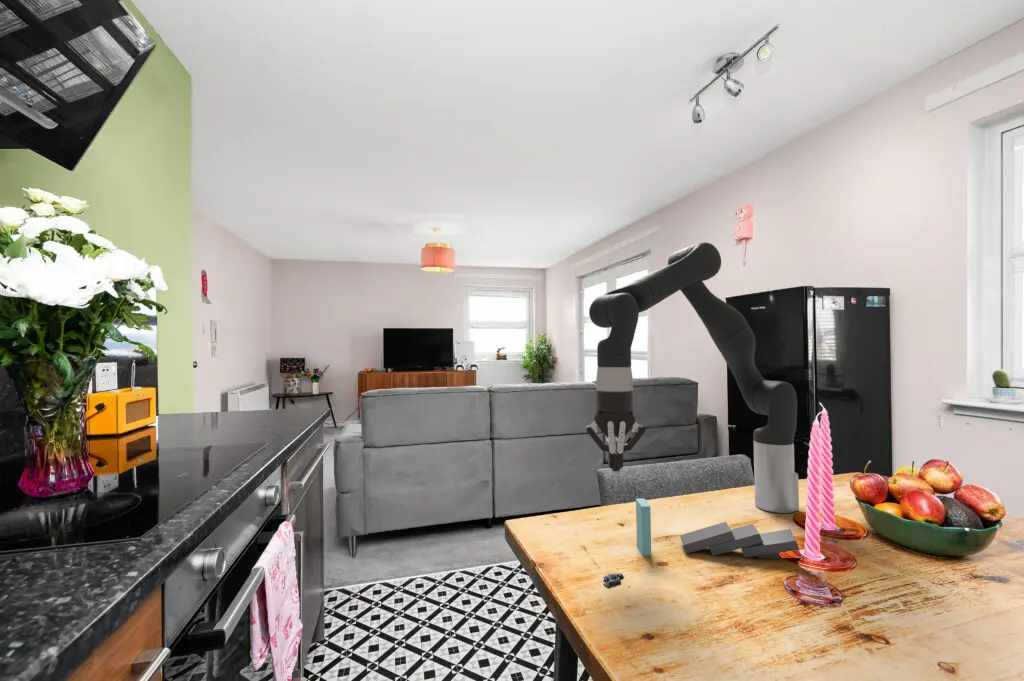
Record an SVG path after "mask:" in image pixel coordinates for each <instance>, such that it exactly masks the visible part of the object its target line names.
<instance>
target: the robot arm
mask: <svg viewBox="0 0 1024 681" xmlns="http://www.w3.org/2000/svg"><path fill="white" fill-rule="evenodd" d="M721 267H722V257H721V254H720V252H719V250H718V249H717V247H716V246H715V245H714V244H712V243H709V242H703V241H702V242H698V243H695V244H692V245H689V246H687V247H684V248H682V249H679V250H676V251H675V252H672V253H671V254H670V255H669V257H668V260H667V265H666V266H664V267H661V268H659V269H657V270H654V271H651V272H649V273H647V274H645V275H643V276H641V277H639V278H637V279H635V280H634V281H631V282H630V283H628V284H626V285H624V286H622V287H619V288H616V289H614V290H613V289H612V290H611V291H608V292H605V293H603V294H601V295H599V296H597V297H596V298H595V299H593V301H592V302H591V303H590V307H589V309H588V315H589V319H590V321H591V322H592V323H593V324H594V325H595V326H597V327H599V328H604V329H605V328H606V329H609V328H610V332H609V334H608V336H607V337H606V338H603V339H601V340H600V341H599V342H598V344H597V348H596V349H597V350H596V351H597V352H596V353H597V356H596V358H597V359H596V360H597V363H596V364H597V368H596V371H597V372H596V377H595V378H596V379H595V380H596V381H595V382H596V383H595V384H596V414H595V416H594V418H593V421H592V422H591V423H590V424H587V425H585V427H584V429H585V431H586V433H587V434H588V435H589V437H591V439H592V441H593V442H595V443H596V445H597V446H598V447H599V448H600V450H601V451H603V452H607V463H608V464H607V465H608V467H609V468H610V470H611V471H612V472H621V469H623V468H624V454H625V453H626V452H627V451H628V452H630V451H632V449H633V448H634V447H635V445H637V443H638V441H640V439H641V438H642V437H643V435H644V434H645V432H646V430H647V429H646V427H644V426H643V425H641V424H639V423H638V422H637V419H636V417H635V414H634V399H633V398H634V392H633V391H634V381H633V371H632V346H633V342H634V338H635V333H636V329H637V326H638V322H639V316H640V313H643V312H645V311H647V310H649V309H651V308H652V307H654V306H656V305H658V304H659V303H661V302H663V301H664V300H665V299H667V298H668V297H670V296H672V295H673V294H675V293H677V292H679V291H680V292H681V293H682V294H683V295H684V297H685V298H686V300H687V301H688V302H689V303H690V305H691V306H692V307H693V309H694V311H695V312H696V314H697V316H698V318H700V320H701V322H702V323H703V325H704V327H705V328H706V330H707V332H708V333H709V336H710V337H711V339H712V341H713V342H714V344H715V346H716V348H717V349H718V351H719V353H721V356H722V357H723V359H724V360H725V362H726V365H727V367H728V369H729V370H730V372H731V373H732V375H733V377H734V379H735V381H736V384H737V386H738V388H739V390H740V392H741V395H742V398H743V400H744V401H745V402H744V403H746V406H748V408H749V410H751V411H753V412H754V413H755V414H760V415H764V416H767V417H768V419H767V424H766V425H765V426H762V427H759V428H756V429H754V430H753V435H752V436H753V467H754V468H753V469H754V470H753V471H754V474H753V475H754V479H753V480H754V505H755V507H757V508H759V509H761V510H763V511H767V512H770V513H771V512H772V513H778V514H790V513H794V512H799V511H800V497H799V494H800V491H799V490H800V489H799V488H800V486H799V474H798V473H797V472H795V444H794V443H795V442H794V441H795V439H794V438H795V435H796V431H797V425H798V423H797V421H798V419H797V418H798V416H797V415H798V397H797V392H796V390H795V388H794V386H793V385H792V384H791V383H789V382H787V381H781V380H767V379H765V378H764V377H763V376H762V374H761V373H760V372H759V370H758V368H757V366H756V362H755V354H756V346H757V345H756V344H757V343H756V336H755V334H754V331H753V329H752V328H751V327H750V325H749V323H748V321H747V320H746V317H745V316H744V315H743V314H742V313H741V312H740V311H739V310H738V309H737V308H735V307H734V306H732V305H730V304H729V303H727V302H726V301H724V300H722V299H721V298H719V297H717V296H716V295H715V294H714V293H713V292H712V291H710V290H709V288H708V287H707V286H706V283H704V282H705V281H708V280H710V279H711V278H714V277H715V276H717V274H718V273H719V272H720V270H721ZM597 427H598V428H599V429H600V431H601V433H603V435H604V436H605V439H606V443H604V442H603V441H602V439H601V438H600V436H598V435H597V434H598V428H597ZM631 430H632V433H631V435H630V436H629V437H628V439H626V441H625V438H626V436H627V435H628V433H629V432H630V431H631Z"/></svg>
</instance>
